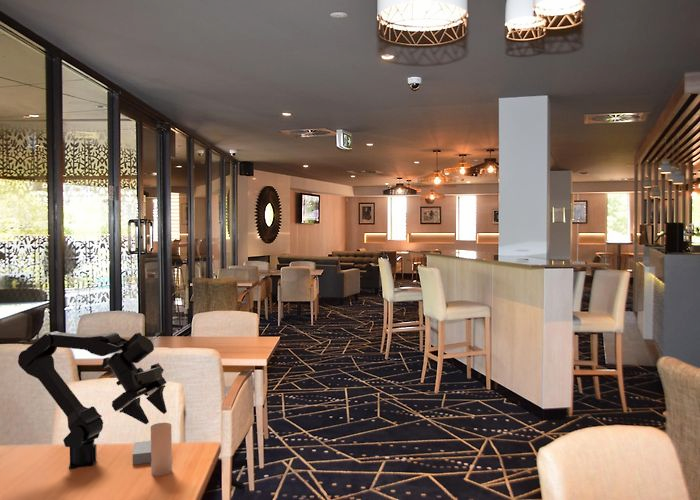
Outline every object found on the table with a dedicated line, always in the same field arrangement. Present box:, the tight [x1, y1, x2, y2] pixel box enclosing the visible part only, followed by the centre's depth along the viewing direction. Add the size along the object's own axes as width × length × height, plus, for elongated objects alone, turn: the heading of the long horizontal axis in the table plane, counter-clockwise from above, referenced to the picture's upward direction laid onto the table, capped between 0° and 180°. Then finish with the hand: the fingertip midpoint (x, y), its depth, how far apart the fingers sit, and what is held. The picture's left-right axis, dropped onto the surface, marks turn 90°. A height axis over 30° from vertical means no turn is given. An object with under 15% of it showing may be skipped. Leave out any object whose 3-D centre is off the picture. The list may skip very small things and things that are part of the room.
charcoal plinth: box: [132, 440, 151, 465], centre depth 175 cm, size 10×10×3 cm
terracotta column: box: [150, 422, 173, 477], centre depth 163 cm, size 6×6×13 cm
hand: (156, 418), depth 164 cm, fingers open, 9 cm apart
